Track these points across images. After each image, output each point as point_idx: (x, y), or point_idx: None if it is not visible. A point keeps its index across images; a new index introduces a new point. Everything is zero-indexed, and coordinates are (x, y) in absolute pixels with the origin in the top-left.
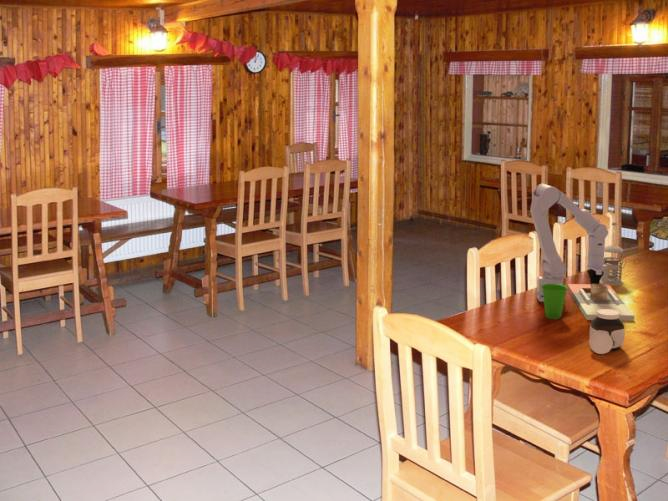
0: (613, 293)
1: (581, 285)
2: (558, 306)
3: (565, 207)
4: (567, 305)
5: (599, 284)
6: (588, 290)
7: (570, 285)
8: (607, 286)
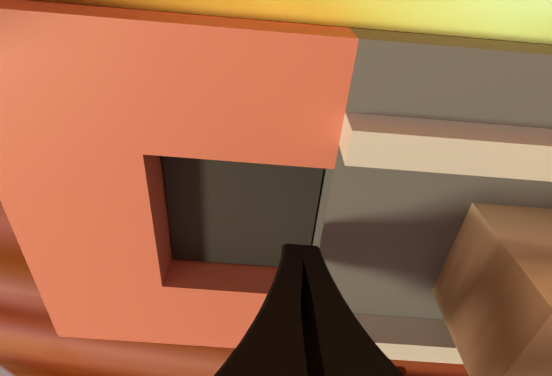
0: (543, 145)
1: (73, 271)
2: None
3: None
4: (457, 367)
5: (543, 358)
6: (162, 231)
7: (97, 329)
8: (30, 51)
